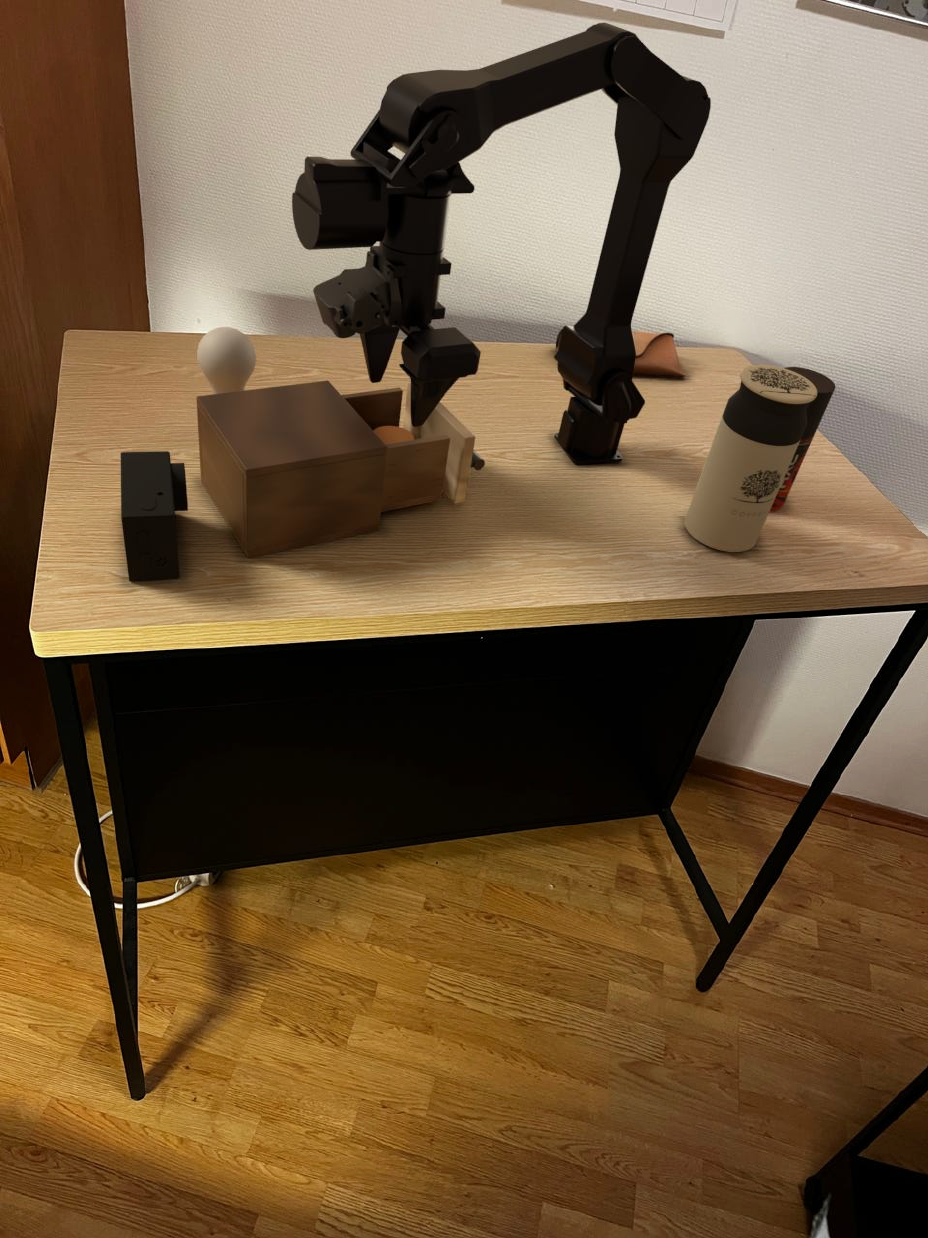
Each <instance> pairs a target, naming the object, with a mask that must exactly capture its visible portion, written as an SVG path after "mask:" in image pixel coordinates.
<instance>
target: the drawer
mask: <svg viewBox="0 0 928 1238" xmlns="http://www.w3.org/2000/svg"><path fill="white" fill-rule="evenodd" d="M406 388H407V389H406V398H405V407H404V413H403V414H404V415H403V424H402V428H404V429H406V430H408V431H409V432H411V433H412V435H413V436H414V440H410V441H404V442H398V443H392V444H386V446H387V454H386V464H385V474H384V484H383V494H382V505H381V513H383V512H388V511H393V510H398V509H404V508H408V507H412V506H417V505H418V506H419V505H422V504H428V503H432V502H438V501H441V500H442V496H443V492H444V493H445V494H446V495H447V497H448V498H449V499H450V500H451V501H452V502H453V503H454V504H461V503H464V502H465V501H466V495H467V490H468V483H469V478H470V472H471V471H470V470H471V468H473V469H474V470H475V471H481V470H482V469H484V467H485V465H486V461H485V459H483V457H482V456H481V455H479V453H478V452H477V451H476V450H475V449H474V448H475V443H476V435H475V434H473V432H471V431H470V429H468V428H467V427H466V426H465V425H464V424H463V423H462V421H460V420H459V419H458V418H457V417H456V416H455V415H454V414H453V413H452V412H451V411H450V410H449V409H448V408H447V407H446V406H445V405H444V404H443V403H442V402H441V401H440V402H439V403H438V405H437V406H436V407H435V409H434V410H433V412H432V413H431V414H430V416H429V417H428V419H427V420H426V421H425V423H424V424H423V425H422V426H418V427H413V426H412V424H411V380H408V381H407V387H406ZM403 394H404V390H403V388H401V387H392V388H385V389H377V390H368V391H363V392H362V391H361V392H354V393H353V392H352V393H347V394H346V393H345V394H341V395H342V397H343V398H344V399H345V400H346V401H347V402H348V403H349V404H350V406H351V407H352V408H353V409H354V410H355V411H356V412H357V413H358V415H359V416H360V417H361V418H362V419H363V420H364V421H365V422H366V423H367V425H368V426H369V427H370V428H371V429H372V430H373V431H374V430H375V429H376V428H378V427H382V426H396V427H400V424H401V413H402V412H401V411H402V404H403Z"/></svg>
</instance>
